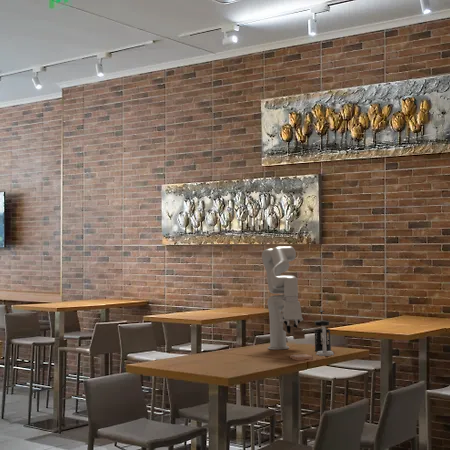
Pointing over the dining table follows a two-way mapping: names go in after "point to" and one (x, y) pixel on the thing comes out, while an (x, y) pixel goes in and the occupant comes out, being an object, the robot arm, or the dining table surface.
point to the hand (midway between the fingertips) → (292, 332)
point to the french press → (318, 332)
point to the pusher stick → (294, 332)
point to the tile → (301, 357)
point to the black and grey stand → (324, 346)
